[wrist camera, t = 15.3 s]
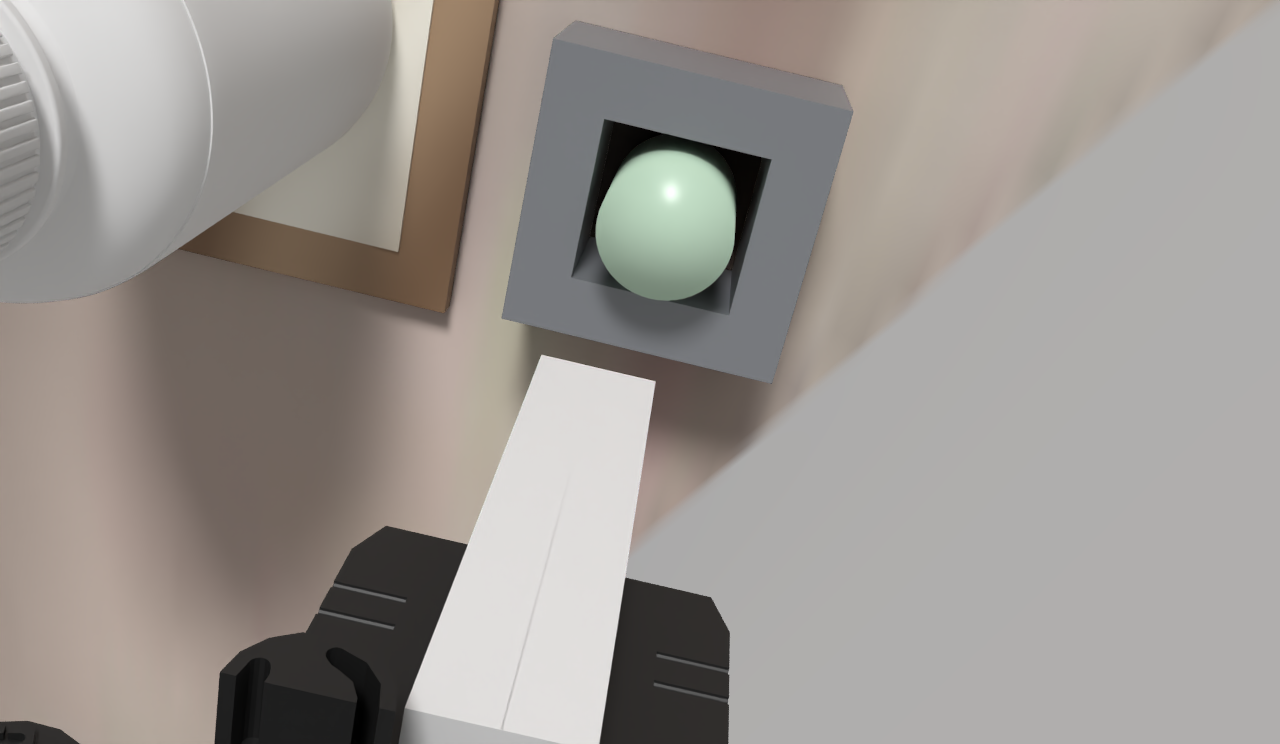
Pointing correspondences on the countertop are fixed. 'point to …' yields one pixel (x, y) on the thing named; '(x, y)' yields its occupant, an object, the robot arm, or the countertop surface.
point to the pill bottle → (162, 123)
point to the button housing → (696, 110)
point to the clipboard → (382, 172)
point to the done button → (668, 218)
